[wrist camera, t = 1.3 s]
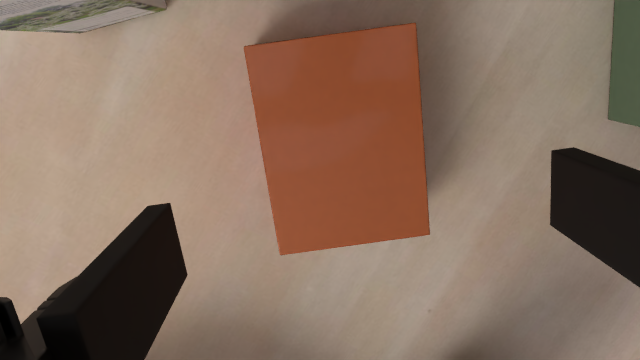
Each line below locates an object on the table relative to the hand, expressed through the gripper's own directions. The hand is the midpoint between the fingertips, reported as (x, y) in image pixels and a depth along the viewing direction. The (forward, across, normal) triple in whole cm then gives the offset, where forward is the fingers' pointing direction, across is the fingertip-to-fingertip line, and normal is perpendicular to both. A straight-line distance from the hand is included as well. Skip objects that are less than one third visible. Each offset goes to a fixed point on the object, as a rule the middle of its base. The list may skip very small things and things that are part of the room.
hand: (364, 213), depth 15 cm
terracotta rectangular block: (+14, 0, 0) cm, 14 cm away
